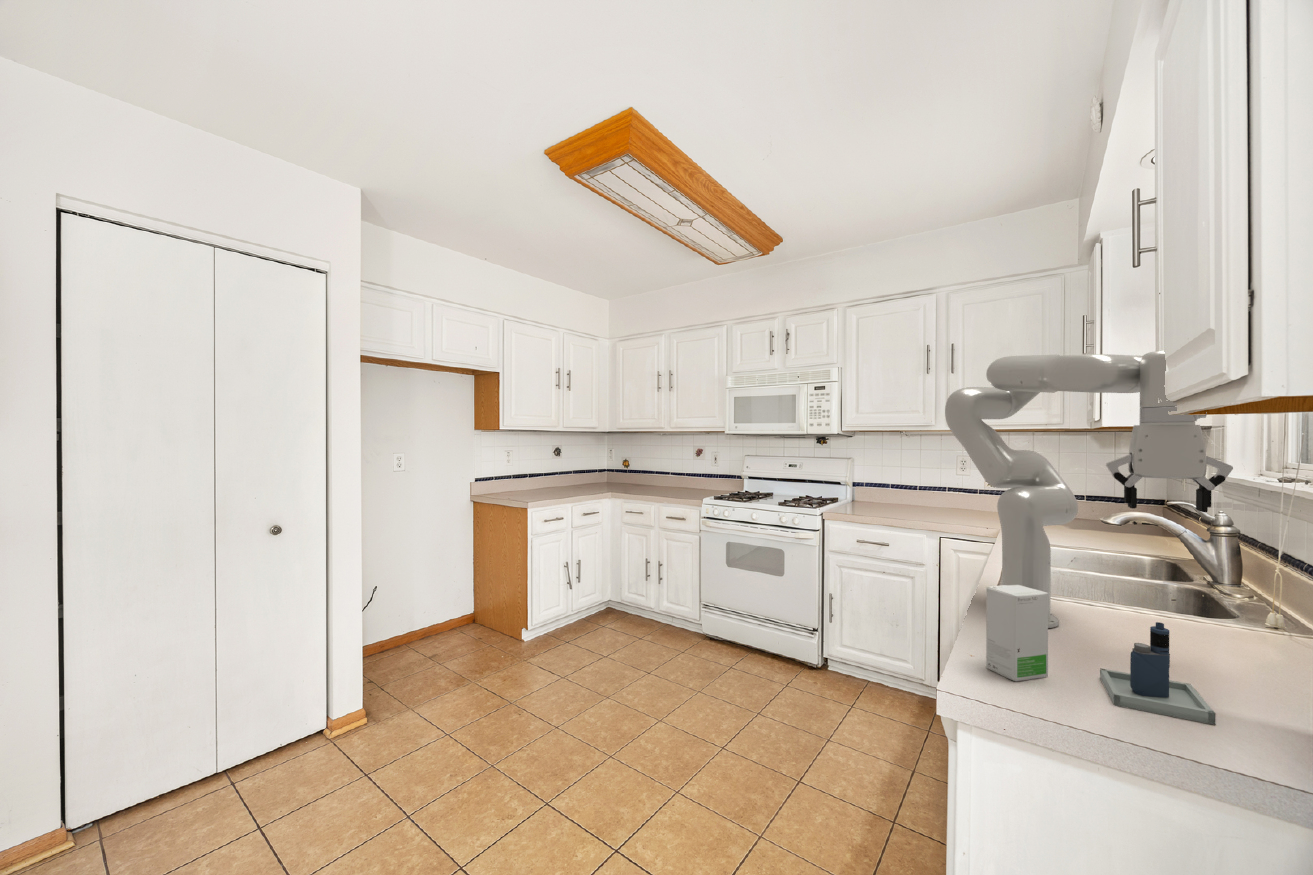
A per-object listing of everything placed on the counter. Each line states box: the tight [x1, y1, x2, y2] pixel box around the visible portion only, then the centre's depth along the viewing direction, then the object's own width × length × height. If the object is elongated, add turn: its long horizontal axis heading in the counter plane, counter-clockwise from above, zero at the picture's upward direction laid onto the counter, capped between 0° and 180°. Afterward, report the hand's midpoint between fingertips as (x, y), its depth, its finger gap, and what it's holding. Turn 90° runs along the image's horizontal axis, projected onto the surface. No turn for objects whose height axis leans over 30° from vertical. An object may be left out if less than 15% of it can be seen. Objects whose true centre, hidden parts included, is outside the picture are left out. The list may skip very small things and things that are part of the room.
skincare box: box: [985, 584, 1049, 682], centre depth 100 cm, size 8×7×16 cm
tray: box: [1099, 668, 1217, 726], centre depth 90 cm, size 11×12×2 cm
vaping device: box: [1129, 621, 1171, 698], centre depth 90 cm, size 3×5×12 cm, turn 79°
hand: (1166, 509), depth 100 cm, fingers open, 9 cm apart
